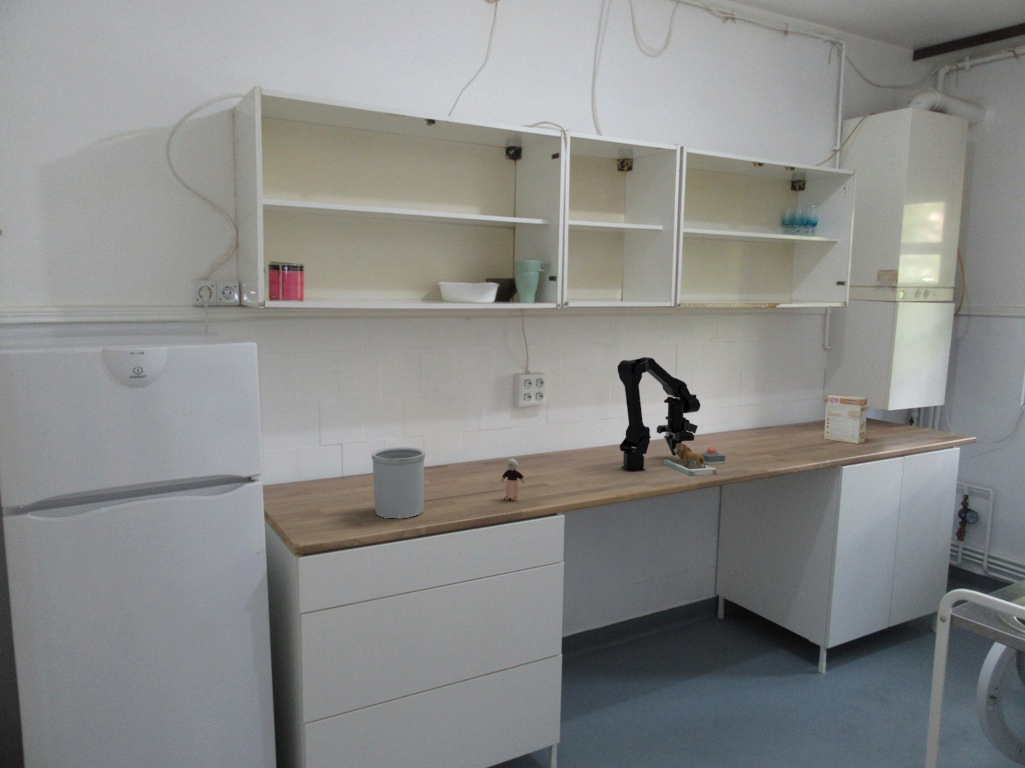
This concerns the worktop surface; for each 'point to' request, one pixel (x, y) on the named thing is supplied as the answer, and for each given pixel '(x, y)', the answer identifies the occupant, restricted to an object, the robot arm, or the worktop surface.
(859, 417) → the coffeecake box
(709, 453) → the dome plunger
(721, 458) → the button housing
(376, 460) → the utensil holder
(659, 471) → the worktop surface
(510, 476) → the grandmother figurine
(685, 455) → the lion figurine
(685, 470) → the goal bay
